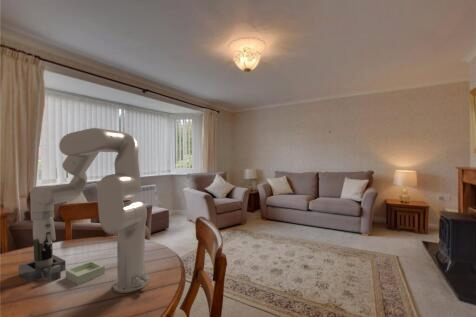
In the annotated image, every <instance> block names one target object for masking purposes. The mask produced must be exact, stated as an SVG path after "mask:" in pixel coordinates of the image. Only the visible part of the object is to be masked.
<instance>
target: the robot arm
mask: <svg viewBox="0 0 476 317" xmlns="http://www.w3.org/2000/svg"><path fill="white" fill-rule="evenodd" d="M58 144H59V145H58V146H59V147H58V148H59V150H60V152H61V153H62V154H63V155H65V156H66V158H65V159H64V160H63V162H62V166H61V167H62V168H63V170H64V171H65V172H67V173H68V174H70V175H72V179H71V180H70V181H69V183H65V184H58V185H57V184H56V185H38V186H34V187H32V188H30V192H29V196H30V198H29V199H30V221H32V239H33V238H34V239H33V240H34V241H35V239H37V240H39V241H38V242H39V243H40V244H42V250H43V251H41V253H42V261H44V260H47V259H50V258H52V250H51V249H52V247H53V242H54V241H56V240H57V239H56V230H55V228H56V227H55V221H54V218H55V205H56V204H61V203H66V202H71V201H74V200H76V199H77V198H79V196H80V195H82V192H83V191H84V189H85V188H86V186H87V182H88V181H87V180H88V178H87V173H86V172H87V170H88V169H89V168H90V166H91V165H92V164H93V162H94V161H95V159H96V158H97V156H98V154H99V153H117V154H116V157H115V159H114V164H113V165H114V174H111V173H110V174H107V175H105V176H104V177H102V178H101V179H100V180H99V182H98V185H97V189H96V197H97V207H98V208H97V209H98V219H99V224H100V226H101V228H102V230H103V231H104V232H105V233H107V234H111V235H112V234H113V235H116V234H118V235H117V241H116V242H117V244H116V246H117V248H116V250H117V251H116V252H117V254H116V255H117V256H116V259H117V264H116V265H117V274H116V276H117V278H116V280H114V282H113V283H112V289H113V291H114V292H116V293H121V294H124V293H125V294H126V293H132V292H135V291H138V290H141V289H143V288H145V287H146V286H147V285H148V284H149V282H150V277H149V275H148V274H147V271H145V270H146V262H145V261H146V252H145V251H146V250H145V246H146V245H145V243H146V241H145V240H146V225H147V224H146V223H147V218H148V209H147V207H146V205H145V203H144V202H142V201H140V200H129V201H125V202H124V200H126V199H130V198H133V197H136V196H137V195H139V194H140V193H141V188H142V185H141V182H142V181H141V173H140V172H141V170H140V160H139V144H138V141H137V139H136V138H135V137H134V136H133V135H131V134H129V133H127V132H123V131H119V130H113V129H105V128H99V127H93V128H92V127H91V128H86V129H82V130H77V131H73V132H70V133H67V134H65V135H64V136H63V137H62V138H61V139H60V141H59V143H58ZM35 236H36V237H35ZM33 240H32V241H33ZM34 241H33V242H34ZM44 241H47V242H45V243H44ZM44 244H47V245H44Z"/></svg>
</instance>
